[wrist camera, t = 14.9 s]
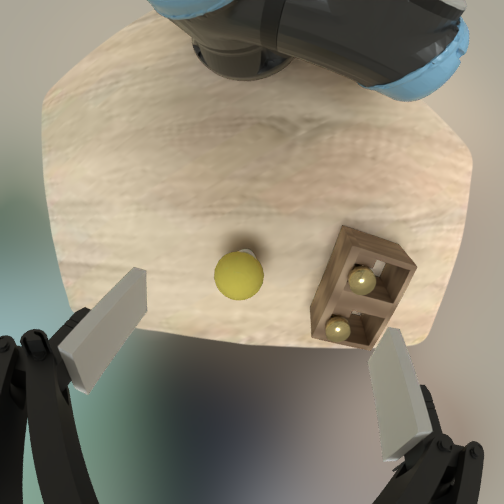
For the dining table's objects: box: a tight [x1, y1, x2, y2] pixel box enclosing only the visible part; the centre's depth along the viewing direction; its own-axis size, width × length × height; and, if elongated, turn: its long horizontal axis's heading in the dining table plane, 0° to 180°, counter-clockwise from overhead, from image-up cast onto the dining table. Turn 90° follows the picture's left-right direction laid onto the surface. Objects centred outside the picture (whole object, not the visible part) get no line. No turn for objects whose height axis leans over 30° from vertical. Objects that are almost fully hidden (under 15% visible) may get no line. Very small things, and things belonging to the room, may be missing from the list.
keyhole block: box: [310, 225, 417, 351], centre depth 40 cm, size 15×10×8 cm, turn 166°
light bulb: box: [214, 249, 264, 300], centre depth 40 cm, size 7×7×10 cm
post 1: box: [325, 314, 351, 342], centre depth 40 cm, size 3×3×10 cm
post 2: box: [348, 263, 376, 295], centre depth 37 cm, size 3×3×10 cm
